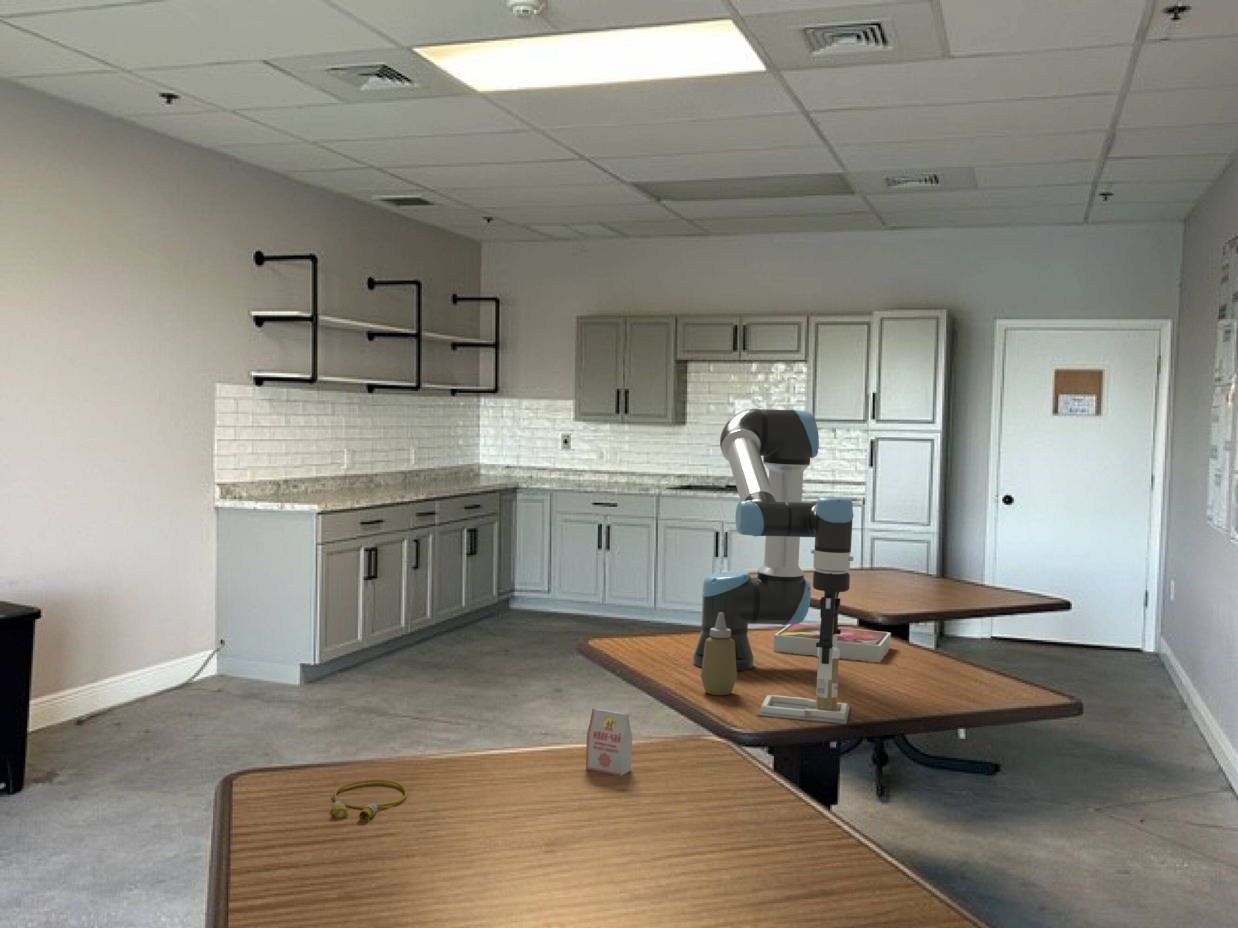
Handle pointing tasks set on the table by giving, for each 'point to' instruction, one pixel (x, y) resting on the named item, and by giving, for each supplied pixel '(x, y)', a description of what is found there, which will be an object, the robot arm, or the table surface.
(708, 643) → the squeeze bottle
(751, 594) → the robot arm
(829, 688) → the sprinkles bottle
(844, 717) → the keyhole track
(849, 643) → the product packaging
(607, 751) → the white paper bag
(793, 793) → the table surface
